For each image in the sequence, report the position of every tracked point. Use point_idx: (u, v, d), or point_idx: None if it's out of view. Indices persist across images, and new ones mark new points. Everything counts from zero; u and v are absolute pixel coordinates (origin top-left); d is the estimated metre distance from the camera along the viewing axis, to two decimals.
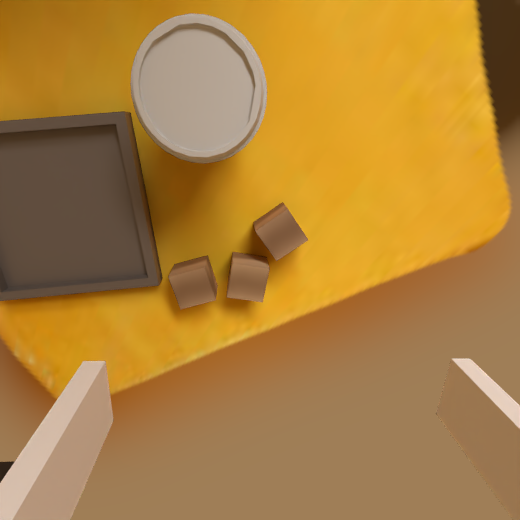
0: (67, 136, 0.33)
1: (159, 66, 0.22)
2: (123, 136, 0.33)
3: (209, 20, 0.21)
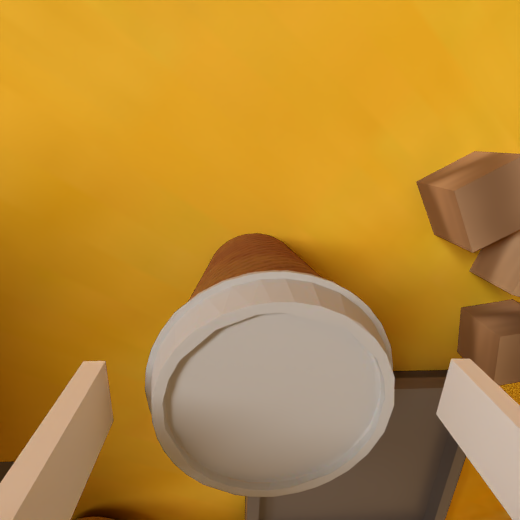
0: None
1: (228, 454, 0.13)
2: None
3: (158, 384, 0.11)
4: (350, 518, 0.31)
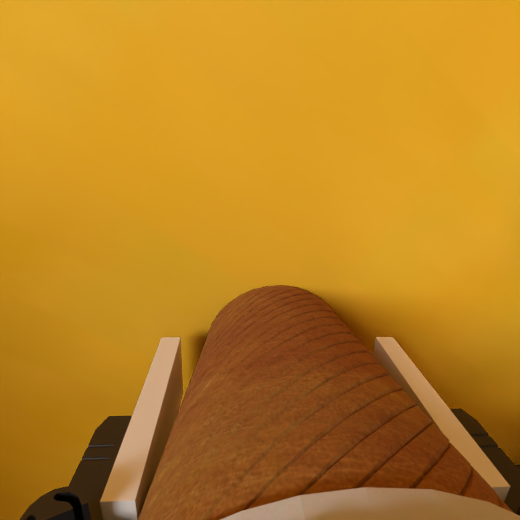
0: None
1: None
2: None
3: None
4: None
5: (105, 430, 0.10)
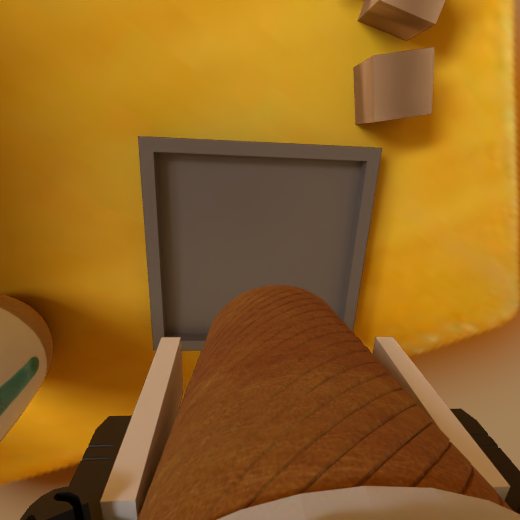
0: (169, 219, 0.28)
1: None
2: (169, 145, 0.24)
3: None
4: None
5: (106, 430, 0.10)
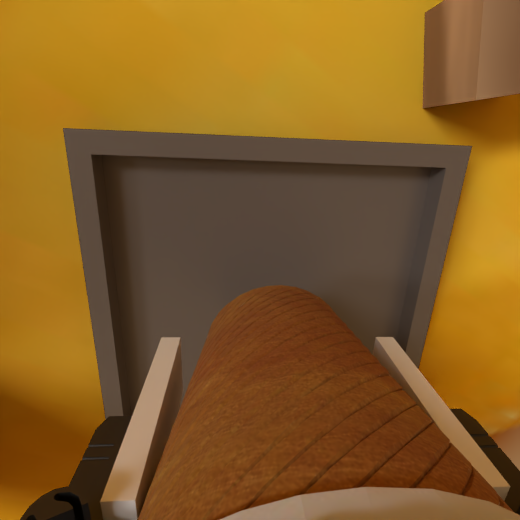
0: (128, 260, 0.17)
1: None
2: (118, 144, 0.14)
3: None
4: None
5: (106, 430, 0.10)
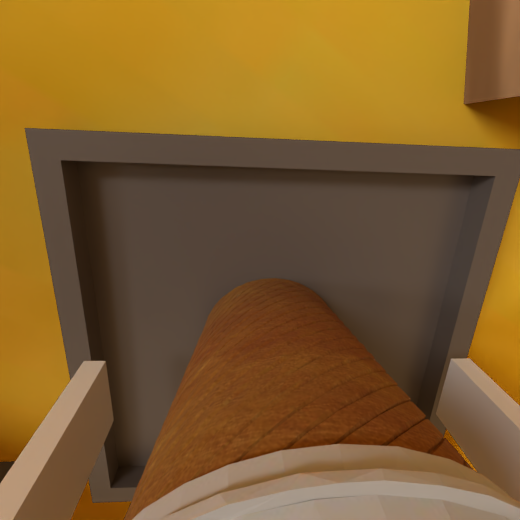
0: (110, 285, 0.15)
1: None
2: (94, 147, 0.12)
3: None
4: None
5: None
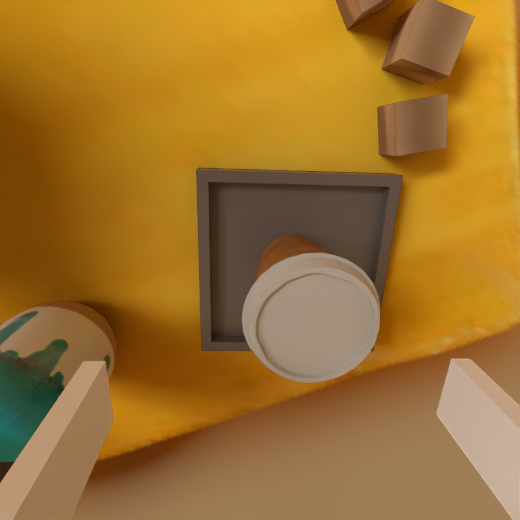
0: (218, 237, 0.32)
1: (286, 355, 0.23)
2: (222, 176, 0.29)
3: (254, 310, 0.21)
4: None
5: None
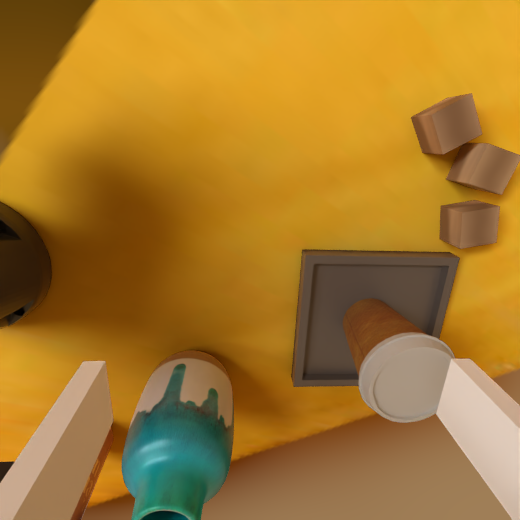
0: (313, 301, 0.41)
1: (390, 404, 0.32)
2: (324, 260, 0.38)
3: (374, 375, 0.30)
4: None
5: None
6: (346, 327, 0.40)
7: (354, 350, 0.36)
